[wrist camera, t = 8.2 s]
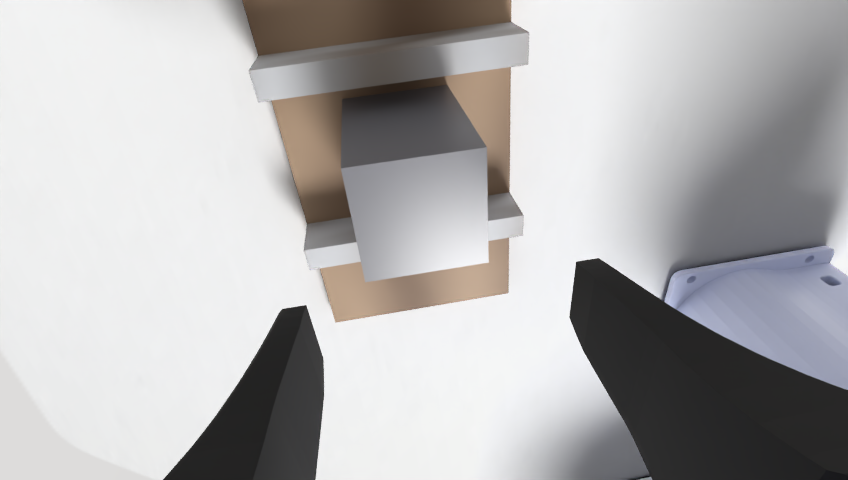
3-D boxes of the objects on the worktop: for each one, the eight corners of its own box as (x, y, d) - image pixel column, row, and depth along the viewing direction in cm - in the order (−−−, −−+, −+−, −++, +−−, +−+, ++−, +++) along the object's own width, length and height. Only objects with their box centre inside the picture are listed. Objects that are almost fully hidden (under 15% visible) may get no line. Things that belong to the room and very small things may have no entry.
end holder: (505, -158, 14) (535, -173, 12) (504, 283, 25) (520, 320, 22) (211, -125, 14) (185, -134, 12) (335, 311, 24) (334, 352, 22)
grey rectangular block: (447, 84, 18) (486, 146, 13) (453, 178, 20) (488, 262, 15) (342, 98, 17) (341, 168, 12) (360, 192, 20) (365, 282, 15)
